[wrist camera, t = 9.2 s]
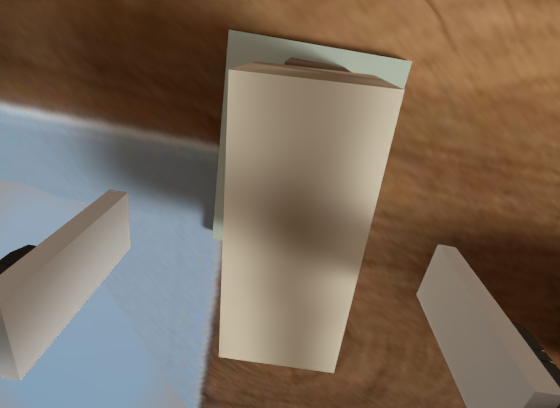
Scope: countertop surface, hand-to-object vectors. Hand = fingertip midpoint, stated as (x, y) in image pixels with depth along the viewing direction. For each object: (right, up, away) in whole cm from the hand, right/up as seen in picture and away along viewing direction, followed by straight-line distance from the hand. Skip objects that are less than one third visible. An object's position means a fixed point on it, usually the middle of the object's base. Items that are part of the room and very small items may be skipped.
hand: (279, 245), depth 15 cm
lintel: (+1, +2, +5) cm, 6 cm away
